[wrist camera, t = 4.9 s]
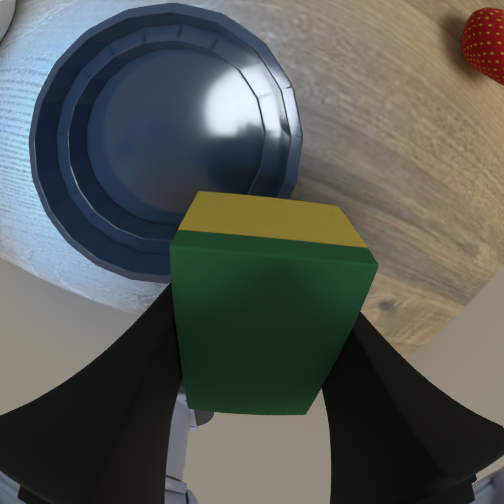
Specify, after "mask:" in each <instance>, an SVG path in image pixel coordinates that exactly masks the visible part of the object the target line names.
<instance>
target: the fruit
mask: <svg viewBox="0 0 504 504" xmlns="http://www.w3.org/2000/svg"><path fill="white" fill-rule="evenodd" d="M462 52H463V55H464V57H465V59H466V60H467V62H468V63H469V64H470V65H471V66H472V67H473V68H474V69H476V70H477V71H479V72H481V73H482V74H484V75H486V76H488V77H489V78H491V79H493V80H494V81H496V82H498V83H500V84H502V85H504V10H501V9H497V8H482V9H479V10H477V11H475V12H473V13H472V15H471V16H470V17H469V19H468V20H467V22H466V24H465V27H464V30H463V35H462Z"/></svg>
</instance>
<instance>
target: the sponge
mask: <svg viewBox="0 0 504 504" xmlns="http://www.w3.org/2000/svg"><path fill="white" fill-rule="evenodd" d="M169 253H170V269H171V283H172V295H173V306H174V316H175V325H176V333H177V341H178V349H179V357H180V364H181V370H182V377H183V383H184V389H185V395H186V401H187V406H188V409H194V410H202V411H211V412H221V413H234V414H253V415H305V414H306V413H307V411H308V410H309V408H310V407H311V405H312V403H313V401H314V400H315V398H316V396H317V395H318V393H319V391H320V390H321V388H322V386H323V384H324V382H325V381H326V379H327V377H328V375H329V373H330V372H331V370H332V368H333V366H334V364H335V362H336V360H337V358H338V356H339V354H340V352H341V350H342V348H343V346H344V344H345V342H346V340H347V338H348V336H349V334H350V332H351V330H352V328H353V326H354V323H355V321H356V319H357V317H358V315H359V312H360V310H361V308H362V306H363V303H364V301H365V299H366V296H367V294H368V291H369V289H370V287H371V284H372V282H373V279H374V277H375V274H376V271H377V269H378V263H377V262H376V260H375V259H374V257H373V255H372V254H371V252H370V251H369V249H367V246H366V244H365V243H364V241H363V240H362V239H361V237H360V236H359V234H358V233H357V231H356V230H355V228H354V227H353V226H352V224H351V223H350V221H349V220H348V219H347V217H346V216H345V214H344V213H343V212H342V210H341V209H340V208H339V206H334V205H327V204H320V203H312V202H304V201H297V200H288V199H280V198H271V197H261V196H251V195H241V194H230V193H218V192H205V191H198V193H197V195H196V197H195V198H194V200H193V202H192V204H191V206H190V207H189V209H188V211H187V213H186V215H185V217H184V219H183V220H182V222H181V224H180V226H179V228H178V231H177V233H176V234H175V236H174V238H173V240H172V242H171V244H170V246H169Z"/></svg>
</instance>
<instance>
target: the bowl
mask: <svg viewBox="0 0 504 504" xmlns="http://www.w3.org/2000/svg"><path fill="white" fill-rule="evenodd" d="M302 136H303V133H302V128H301V123H300V117H299V112H298V108H297V103H296V98H295V93H294V89H293V87H292V84H291V82H290V81H289V79H288V77H287V76H286V74H285V72H284V71H283V69H282V68H281V66H280V65H279V63H278V62H277V60H276V58H275V57H274V55H273V54H272V52H271V51H270V49H269V48H268V47H267V45H266V44H265V43H264V42H263V41H262V40H261V39H259V38H258V37H257V36H255V35H254V34H252V33H251V32H250V31H248V30H247V29H245V28H244V27H243V26H241V25H240V24H238V23H237V22H235V21H234V20H232V19H231V18H229V17H228V16H226V15H225V14H222V13H219V12H215V11H211V10H207V9H203V8H199V7H194V6H190V5H185V4H180V3H167V4H158V5H151V6H144V7H138V8H133V9H128V10H125V11H123V12H121V13H119V14H117V15H115V16H113V17H111V18H109V19H107V20H105V21H103V22H101V23H99V24H98V25H96V26H94V27H92V28H90V29H89V30H87V31H86V32H85V33H83V34H82V35H81V36H80V37H79V38H78V39H77V40H76V41H75V42H74V43H73V44H72V45H71V46H70V47H69V48H68V49H67V50H66V52H65V53H64V54H63V55H62V56H61V57H60V58H59V59H58V60H57V61H56V63H55V64H54V66H53V68H52V69H51V71H50V73H49V75H48V77H47V79H46V81H45V83H44V85H43V87H42V89H41V91H40V93H39V95H38V97H37V99H36V103H35V107H34V112H33V117H32V122H31V128H30V134H29V152H30V163H31V172H32V178H33V182H34V185H35V188H36V190H37V193H38V195H39V198H40V201H41V203H42V205H43V208H44V210H45V213H46V215H47V216H48V217H49V219H50V220H51V221H52V223H53V224H54V226H55V227H56V228H57V230H58V231H59V232H60V234H61V235H62V236H63V238H64V239H65V240H66V241H67V243H69V244H70V245H71V246H72V247H73V248H75V249H76V250H77V251H78V252H80V253H81V254H82V255H84V256H85V257H86V258H87V259H89V260H90V261H91V262H93V263H94V264H95V265H97V266H99V267H102V268H104V269H106V270H109V271H111V272H114V273H116V274H118V275H121V276H123V277H126V278H128V279H132V280H140V281H148V282H157V283H166V284H167V283H171V269H170V253H169V246H170V244H171V242H172V240H173V238H174V236H175V234H176V233H177V231H178V228H179V226H180V224H181V222H182V220H183V219H184V217H185V215H186V213H187V211H188V209H189V207H190V206H191V204H192V202H193V200H194V198H195V197H196V195H197V193H198V191H205V192H218V193H230V194H241V195H251V196H261V197H271V198H280V199H288V200H289V198H290V196H291V194H292V192H293V190H294V188H295V185H296V181H297V175H298V168H299V162H300V155H301V148H302V141H303V137H302Z"/></svg>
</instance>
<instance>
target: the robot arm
mask: <svg viewBox="0 0 504 504" xmlns="http://www.w3.org/2000/svg"><path fill="white" fill-rule="evenodd" d="M181 380H182V370H181V364H180V357H179V349H178V341H177V333H176V325H175V316H174V306H173V295H172V283H170V284H169V285H168V286H167V287H166V288H165V290H164V291H163V292H162V293H161V294H160V295H159V297H158V298H157V299H156V300H155V301H154V302H153V303H152V305H151V306H150V307H149V308H148V309H147V310H146V311H145V312H144V313H143V314H142V315H141V316H140V317H139V319H138V320H137V321H136V322H135V323H134V324H133V325H132V326H131V327H130V328H129V329H128V330H127V331H126V332H125V333H124V334H123V335H122V336H121V337H120V338H118V339H117V340H116V341H115V342H114V343H113V344H112V345H111V346H110V347H109V348H108V349H107V350H105V351H104V352H103V353H102V354H101V355H100V356H98V357H97V358H96V359H95V360H93V361H92V362H91V363H90V364H89V365H87V366H86V367H85V368H83V369H82V370H81V371H79V372H78V373H77V374H75V375H74V376H72V377H71V378H69V379H68V380H67V381H65V382H64V383H62V384H61V385H59V386H57V387H56V388H54V389H52V390H51V391H49V392H48V393H45V394H44V395H42V396H40V397H39V398H37V399H35V400H33V401H32V402H30V403H28V404H25V405H23V406H21V407H19V408H17V409H14V410H12V411H10V412H8V413H5V414H3V415H1V416H0V504H198V503H197V500H196V497H195V496H194V495H193V493H192V492H191V490H189V489H186V486H187V484H186V483H184V482H182V477H183V469H184V464H185V455H186V447H187V440H188V432H189V430H190V431H197V423H196V417H195V411H194V409H188V406H187V401H186V395H185V393H180V392H179V388H180V384H181ZM322 391H323V396H324V400H325V406H326V410H327V415H328V422H329V429H330V445H331V496H330V504H504V466H503V467H502V468H500V469H498V470H497V471H495V472H494V473H491V474H489V475H487V476H486V477H484V478H482V479H481V480H479V481H477V482H476V483H475V484H473V485H472V483H473V482H475V481H476V479H477V478H476V473H478V472H479V471H481V470H483V469H484V468H486V467H487V466H489V465H490V464H492V463H493V462H495V461H496V460H498V459H499V458H500V457H502V456H503V455H504V428H503V426H501V425H499V424H497V423H494V422H492V421H490V420H488V419H486V418H484V417H482V416H480V415H478V414H476V413H474V412H472V411H471V410H469V409H467V408H466V407H464V406H463V405H461V404H460V403H458V402H456V401H455V400H453V399H452V398H451V397H449V396H448V395H446V394H445V393H444V392H442V391H441V390H440V389H438V388H437V387H436V386H434V385H433V384H432V383H431V382H429V381H428V380H427V379H426V378H425V377H424V376H422V375H421V374H420V373H419V372H418V371H416V369H414V368H413V367H412V366H411V365H410V364H409V363H408V362H407V361H406V360H405V359H404V358H403V357H402V356H401V355H400V354H399V353H398V352H397V351H396V350H395V349H394V348H393V347H392V346H391V345H390V344H389V343H388V342H387V341H386V340H385V339H384V337H383V336H382V335H381V334H380V333H379V332H378V331H377V330H376V329H375V328H374V326H373V325H372V324H371V323H370V322H369V321H368V320H367V319H366V317H365V316H364V315H363V314H362V313H361V312H359V315H358V317H357V319H356V321H355V323H354V326H353V328H352V330H351V332H350V334H349V336H348V338H347V340H346V342H345V344H344V346H343V348H342V350H341V352H340V354H339V356H338V358H337V360H336V362H335V364H334V366H333V368H332V370H331V372H330V373H329V375H328V377H327V379H326V381H325V382H324V384H323V386H322Z"/></svg>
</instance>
